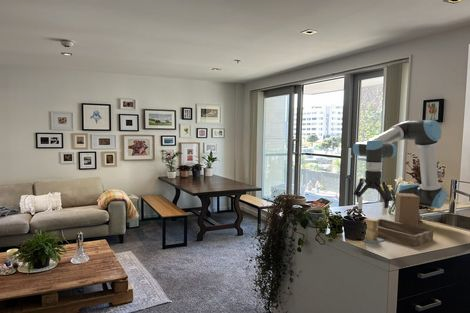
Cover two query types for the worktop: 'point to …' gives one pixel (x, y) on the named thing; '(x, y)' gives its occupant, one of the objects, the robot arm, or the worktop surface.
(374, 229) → the oak block
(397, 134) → the robot arm
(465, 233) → the worktop surface
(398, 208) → the wooden block
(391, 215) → the worktop surface
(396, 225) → the brown wooden tray
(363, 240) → the mat
